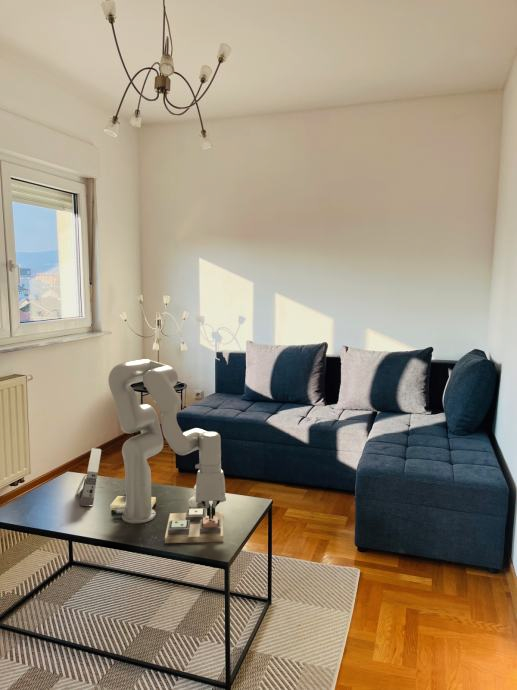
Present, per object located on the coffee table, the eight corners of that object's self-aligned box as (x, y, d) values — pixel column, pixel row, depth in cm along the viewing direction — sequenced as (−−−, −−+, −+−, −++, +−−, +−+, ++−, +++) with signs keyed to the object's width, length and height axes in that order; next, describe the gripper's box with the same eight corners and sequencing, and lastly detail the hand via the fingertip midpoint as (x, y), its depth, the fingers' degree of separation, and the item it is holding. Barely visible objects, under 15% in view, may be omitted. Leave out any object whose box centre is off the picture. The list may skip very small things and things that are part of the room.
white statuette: (210, 480, 219) (196, 493, 208) (211, 499, 221) (198, 513, 210) (197, 478, 221) (182, 491, 210) (198, 497, 223) (183, 511, 212)
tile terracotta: (202, 529, 187) (202, 523, 187) (203, 522, 192) (203, 517, 192) (217, 528, 187) (217, 522, 187) (217, 522, 192) (217, 516, 192)
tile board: (164, 543, 183) (164, 532, 183) (170, 518, 203) (169, 508, 203) (223, 541, 185) (223, 530, 184) (222, 516, 205) (222, 506, 204)
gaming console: (76, 489, 232) (85, 444, 231) (94, 491, 234) (103, 447, 233) (71, 510, 210) (81, 461, 209) (91, 512, 212) (100, 463, 211)
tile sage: (171, 532, 186) (171, 526, 186) (172, 526, 191) (172, 520, 191) (186, 532, 186) (186, 526, 186) (187, 525, 192) (186, 519, 191)
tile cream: (188, 519, 196) (188, 514, 196) (189, 513, 202) (189, 508, 201) (202, 519, 197) (202, 513, 197) (203, 513, 202) (203, 508, 202)
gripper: (188, 471, 183) (189, 522, 185) (231, 470, 184) (232, 521, 186) (189, 464, 190) (190, 514, 192) (231, 463, 192) (231, 512, 193)
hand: (211, 517), depth 189 cm, fingers closed
